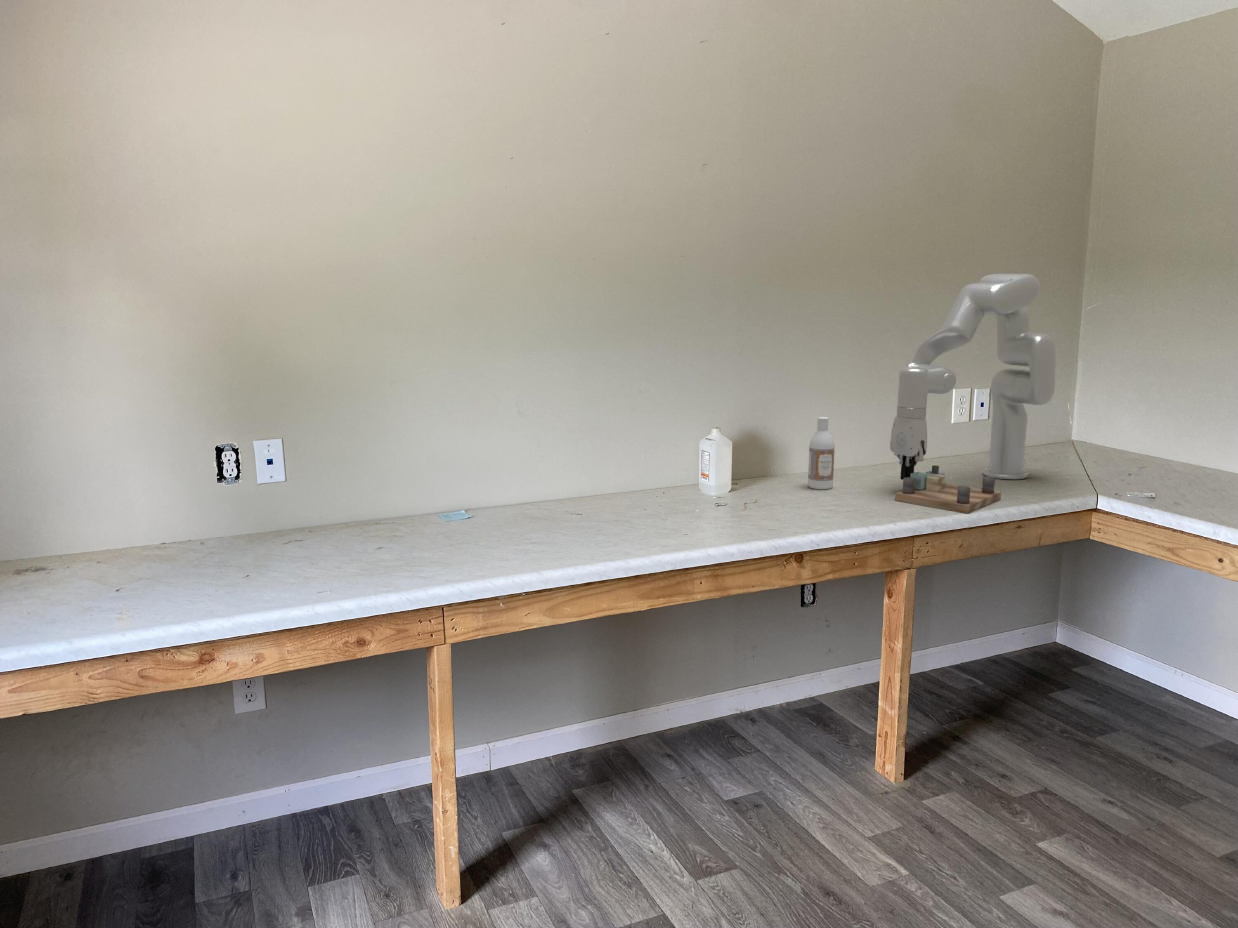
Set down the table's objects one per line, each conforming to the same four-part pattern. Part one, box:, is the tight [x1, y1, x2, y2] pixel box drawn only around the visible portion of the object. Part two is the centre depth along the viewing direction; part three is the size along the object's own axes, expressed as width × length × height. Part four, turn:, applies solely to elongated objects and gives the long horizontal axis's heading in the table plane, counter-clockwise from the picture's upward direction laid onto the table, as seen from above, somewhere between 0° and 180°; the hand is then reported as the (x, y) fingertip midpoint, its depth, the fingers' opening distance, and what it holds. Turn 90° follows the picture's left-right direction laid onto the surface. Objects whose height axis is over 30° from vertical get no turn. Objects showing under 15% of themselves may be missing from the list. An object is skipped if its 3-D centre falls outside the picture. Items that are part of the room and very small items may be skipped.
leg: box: [910, 470, 946, 490], centre depth 250 cm, size 12×4×4 cm, turn 133°
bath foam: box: [807, 416, 835, 490], centre depth 258 cm, size 7×7×20 cm
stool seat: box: [894, 464, 1002, 514], centre depth 243 cm, size 20×20×7 cm
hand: (906, 479), depth 250 cm, fingers closed
